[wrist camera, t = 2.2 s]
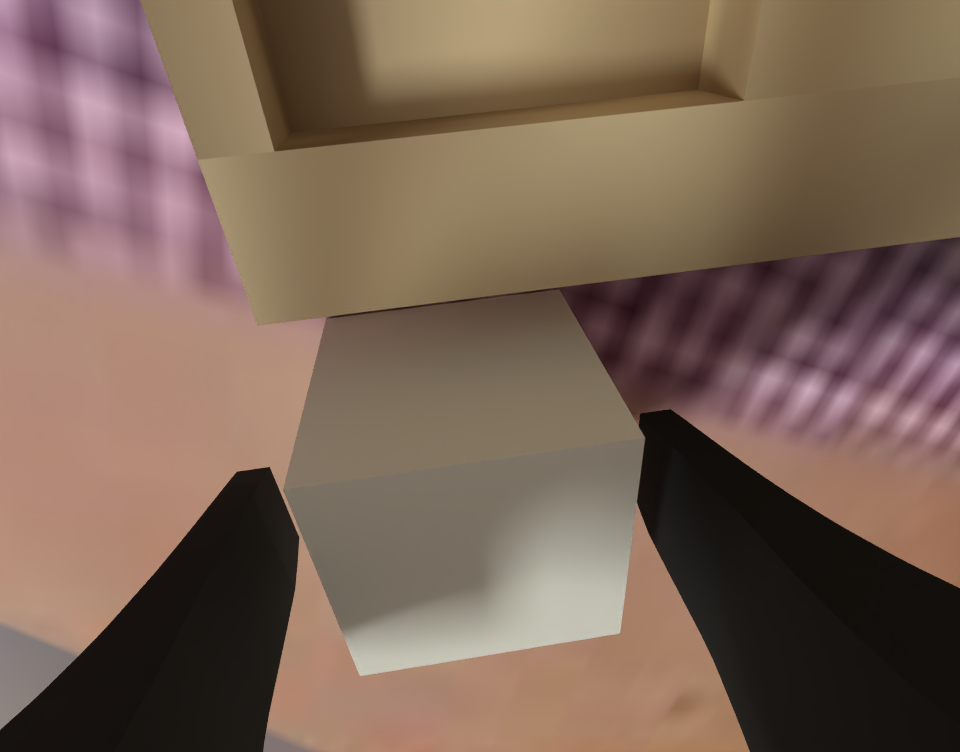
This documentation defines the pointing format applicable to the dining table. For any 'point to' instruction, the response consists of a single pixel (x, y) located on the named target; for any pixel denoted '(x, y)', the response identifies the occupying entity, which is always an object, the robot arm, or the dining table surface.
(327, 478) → the cream block
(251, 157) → the pocket board
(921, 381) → the dining table surface
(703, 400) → the dining table surface
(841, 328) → the dining table surface
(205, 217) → the dining table surface
